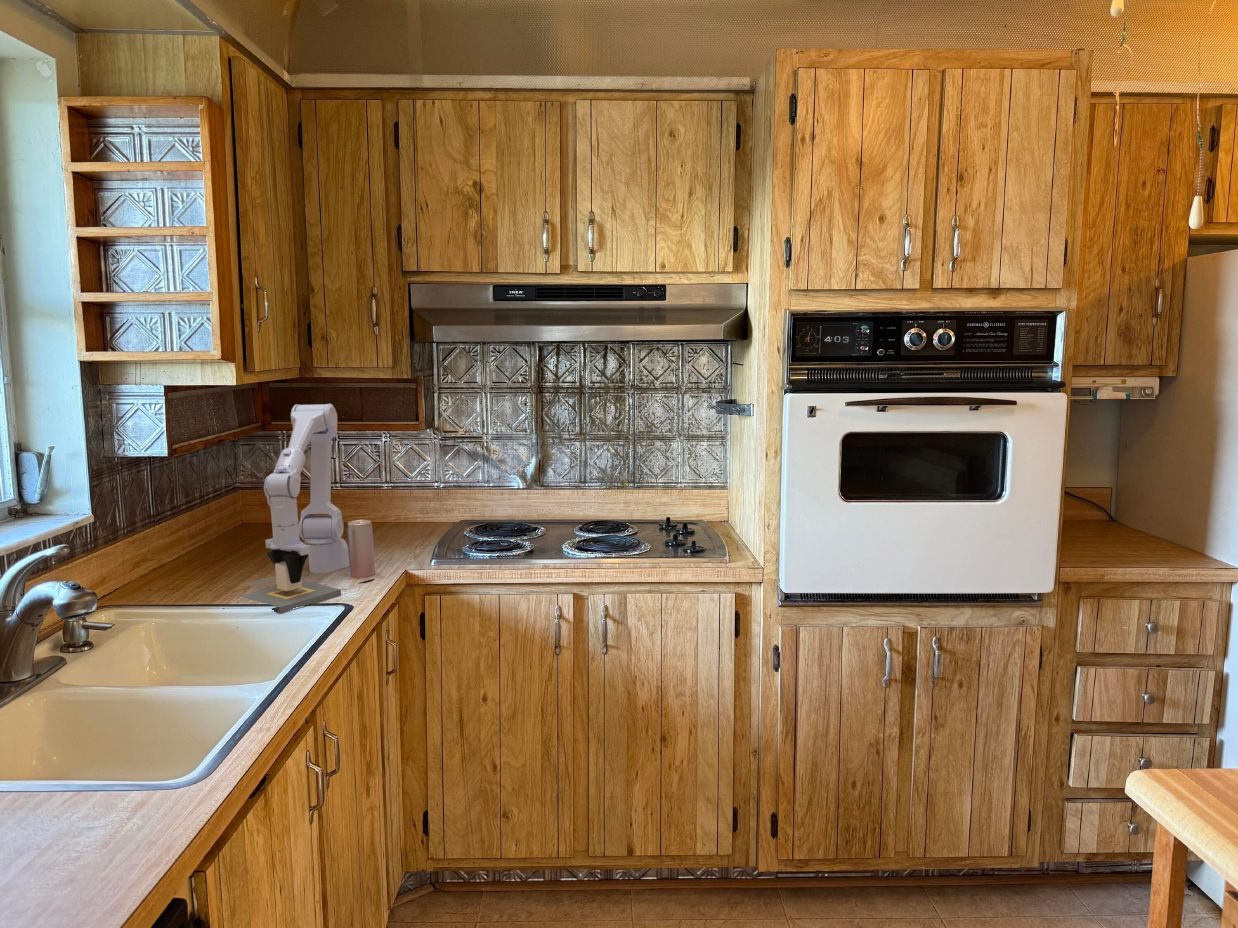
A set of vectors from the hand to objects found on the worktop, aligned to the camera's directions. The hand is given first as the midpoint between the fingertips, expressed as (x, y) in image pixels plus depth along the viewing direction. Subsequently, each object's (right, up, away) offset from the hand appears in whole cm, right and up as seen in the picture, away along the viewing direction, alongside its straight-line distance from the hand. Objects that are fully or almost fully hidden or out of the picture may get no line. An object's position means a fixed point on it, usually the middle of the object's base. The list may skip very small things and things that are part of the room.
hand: (289, 581), depth 203 cm
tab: (-9, -3, +10) cm, 14 cm away
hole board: (0, -4, +1) cm, 4 cm away
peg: (0, -2, 0) cm, 2 cm away
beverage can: (+13, -2, +15) cm, 20 cm away
